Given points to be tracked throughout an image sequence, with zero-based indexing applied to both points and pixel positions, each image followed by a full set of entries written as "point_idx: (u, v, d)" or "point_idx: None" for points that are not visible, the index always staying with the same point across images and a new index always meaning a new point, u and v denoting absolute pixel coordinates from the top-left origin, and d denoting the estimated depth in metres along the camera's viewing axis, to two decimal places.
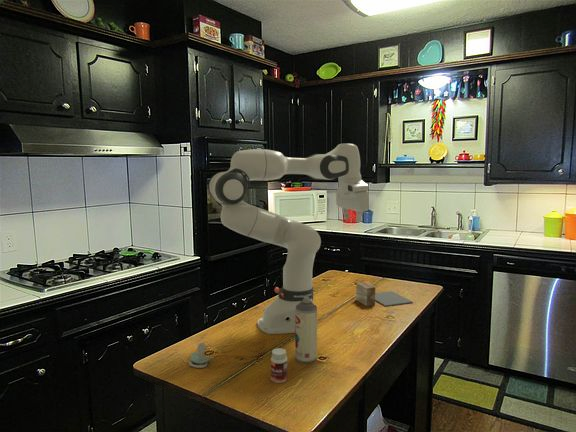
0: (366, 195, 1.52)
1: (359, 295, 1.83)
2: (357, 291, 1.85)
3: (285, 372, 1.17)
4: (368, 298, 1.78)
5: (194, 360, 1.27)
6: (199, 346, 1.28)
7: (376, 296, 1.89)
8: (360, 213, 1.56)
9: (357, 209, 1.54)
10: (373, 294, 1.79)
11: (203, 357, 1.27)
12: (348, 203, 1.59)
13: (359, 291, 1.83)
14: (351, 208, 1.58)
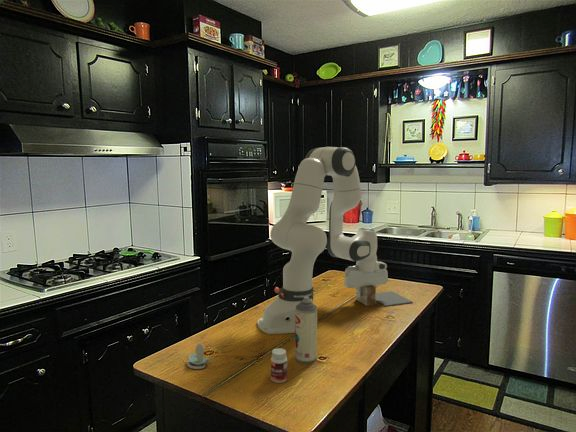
0: None
1: None
2: None
3: (285, 372, 1.17)
4: (368, 297, 1.78)
5: (192, 361, 1.26)
6: (197, 347, 1.27)
7: (376, 296, 1.89)
8: None
9: (383, 282, 1.83)
10: (373, 294, 1.79)
11: (201, 358, 1.27)
12: (370, 280, 1.81)
13: None
14: (374, 284, 1.81)
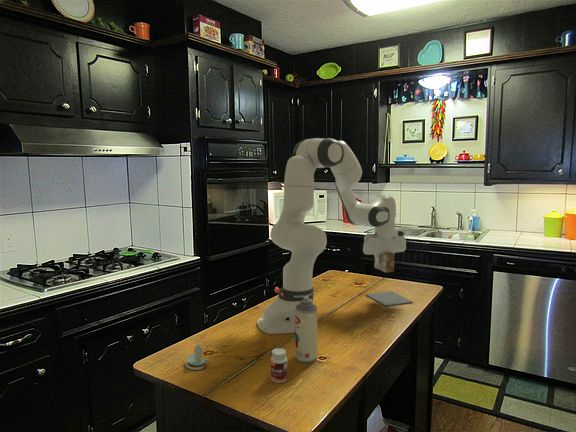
0: None
1: None
2: None
3: (285, 372, 1.17)
4: (387, 264, 1.79)
5: (191, 362, 1.26)
6: (196, 348, 1.26)
7: (376, 296, 1.89)
8: None
9: (401, 250, 1.84)
10: (392, 260, 1.80)
11: (200, 359, 1.26)
12: (389, 248, 1.82)
13: None
14: (392, 251, 1.83)
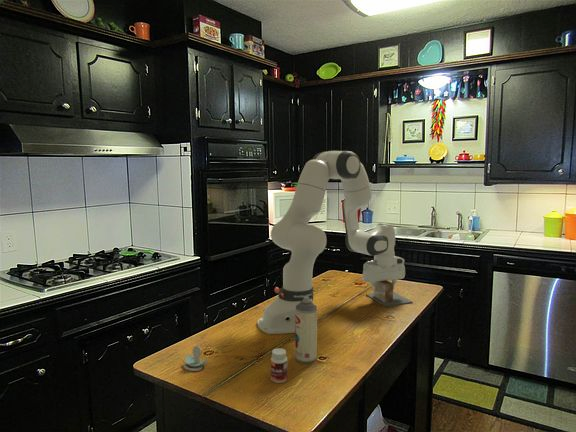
0: None
1: (377, 291, 1.86)
2: None
3: (285, 372, 1.17)
4: (386, 294, 1.81)
5: (189, 363, 1.25)
6: (194, 349, 1.26)
7: None
8: None
9: (400, 277, 1.86)
10: (391, 290, 1.82)
11: (198, 360, 1.25)
12: (388, 275, 1.83)
13: (377, 287, 1.86)
14: (391, 278, 1.84)
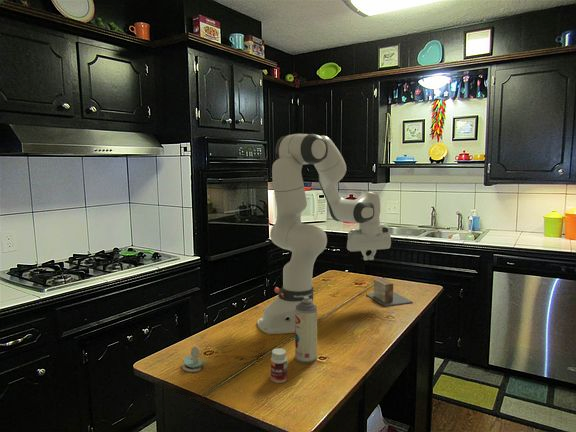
0: None
1: (377, 291, 1.86)
2: (375, 287, 1.88)
3: (285, 372, 1.17)
4: (386, 294, 1.81)
5: (187, 364, 1.25)
6: (193, 350, 1.25)
7: None
8: None
9: (386, 247, 1.81)
10: (391, 290, 1.82)
11: (197, 361, 1.25)
12: (373, 244, 1.79)
13: (377, 287, 1.86)
14: (377, 248, 1.80)
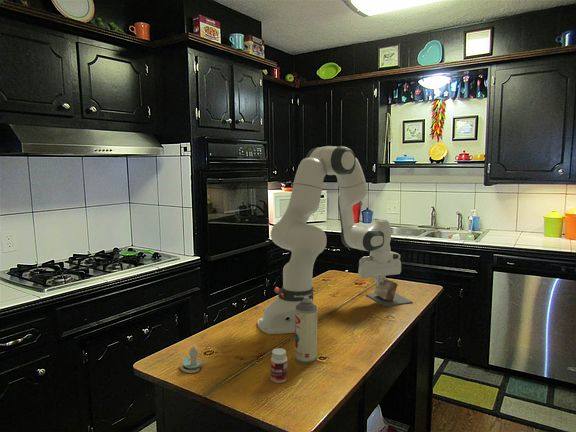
0: None
1: (379, 289, 1.87)
2: None
3: (285, 372, 1.17)
4: (388, 292, 1.81)
5: (186, 365, 1.24)
6: (191, 350, 1.25)
7: (376, 296, 1.89)
8: None
9: (396, 272, 1.85)
10: (394, 290, 1.82)
11: (195, 362, 1.24)
12: (384, 271, 1.83)
13: None
14: (387, 274, 1.83)
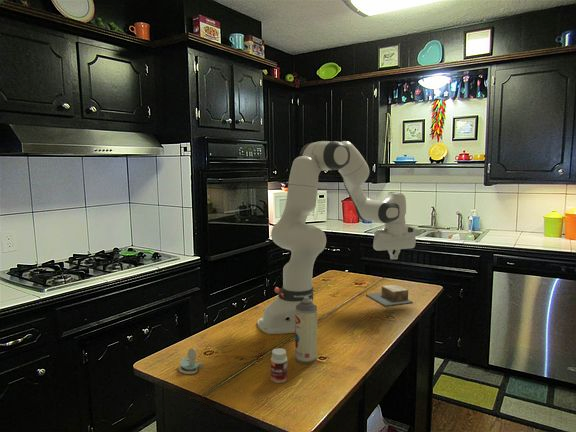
0: None
1: (391, 287, 1.89)
2: (391, 285, 1.91)
3: (285, 372, 1.17)
4: (399, 292, 1.83)
5: (184, 366, 1.23)
6: (189, 351, 1.24)
7: (376, 296, 1.89)
8: None
9: (411, 246, 1.86)
10: (402, 298, 1.84)
11: (193, 363, 1.24)
12: (399, 244, 1.83)
13: (394, 286, 1.89)
14: (402, 247, 1.84)
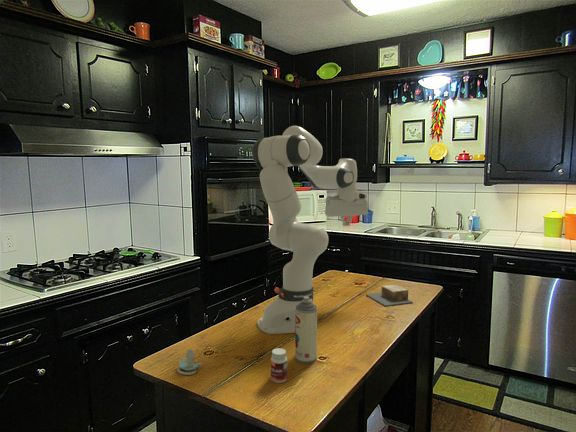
0: None
1: (391, 287, 1.89)
2: (391, 285, 1.91)
3: (285, 372, 1.17)
4: (399, 292, 1.83)
5: (182, 367, 1.23)
6: (188, 352, 1.24)
7: (376, 296, 1.89)
8: None
9: (363, 213, 1.87)
10: (402, 298, 1.84)
11: (192, 364, 1.23)
12: (350, 210, 1.84)
13: (394, 286, 1.89)
14: (354, 214, 1.85)
